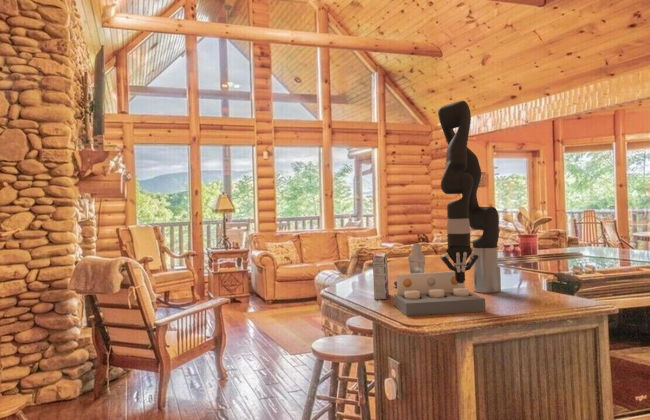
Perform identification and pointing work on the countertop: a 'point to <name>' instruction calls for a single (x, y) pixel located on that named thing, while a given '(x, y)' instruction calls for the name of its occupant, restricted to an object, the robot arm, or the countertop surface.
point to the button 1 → (412, 294)
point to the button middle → (436, 293)
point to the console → (434, 305)
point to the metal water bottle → (416, 259)
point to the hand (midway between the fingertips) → (460, 282)
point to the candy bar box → (380, 276)
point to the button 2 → (460, 292)
